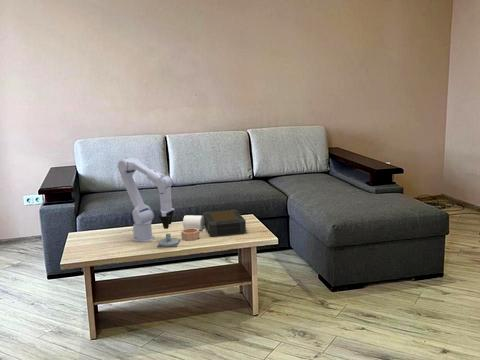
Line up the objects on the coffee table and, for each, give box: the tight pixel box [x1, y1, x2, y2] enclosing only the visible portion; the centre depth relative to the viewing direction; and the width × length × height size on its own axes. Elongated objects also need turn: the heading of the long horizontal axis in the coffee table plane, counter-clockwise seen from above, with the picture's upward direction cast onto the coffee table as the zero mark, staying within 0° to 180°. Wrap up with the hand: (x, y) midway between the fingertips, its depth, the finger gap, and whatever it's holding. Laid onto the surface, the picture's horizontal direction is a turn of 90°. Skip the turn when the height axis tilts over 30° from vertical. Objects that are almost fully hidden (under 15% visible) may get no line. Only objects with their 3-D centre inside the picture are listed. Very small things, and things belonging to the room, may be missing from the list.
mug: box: [182, 214, 205, 231], centre depth 281 cm, size 12×10×8 cm
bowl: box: [180, 228, 200, 242], centre depth 265 cm, size 9×9×4 cm
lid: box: [158, 233, 180, 246], centre depth 256 cm, size 10×10×4 cm
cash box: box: [202, 209, 247, 238], centre depth 278 cm, size 25×20×8 cm
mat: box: [156, 238, 181, 248], centre depth 257 cm, size 10×10×1 cm
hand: (167, 226), depth 255 cm, fingers open, 7 cm apart
